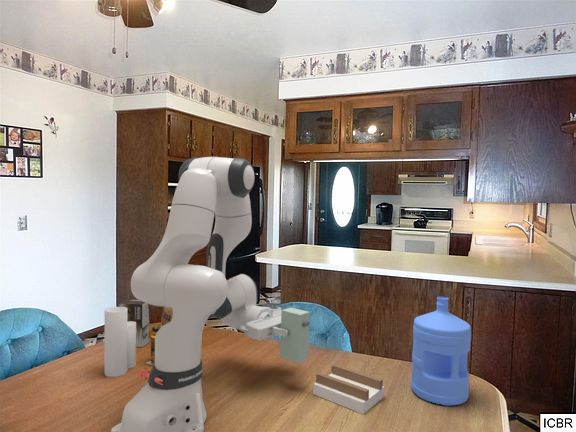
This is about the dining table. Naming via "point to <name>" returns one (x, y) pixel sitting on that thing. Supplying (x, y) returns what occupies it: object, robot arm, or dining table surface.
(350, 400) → the cleat board
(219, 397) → the dining table surface
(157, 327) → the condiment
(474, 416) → the dining table surface
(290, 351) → the sage cabinet
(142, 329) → the coffee box
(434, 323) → the water jug
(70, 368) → the dining table surface
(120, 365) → the vase
